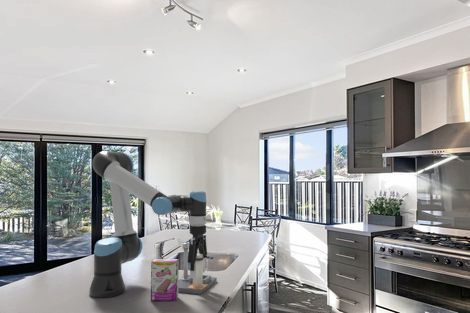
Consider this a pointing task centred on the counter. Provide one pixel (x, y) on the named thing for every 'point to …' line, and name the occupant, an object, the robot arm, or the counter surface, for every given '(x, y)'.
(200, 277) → the clear cream cylinder
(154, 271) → the candy bar box
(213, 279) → the grey stand
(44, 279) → the counter surface
